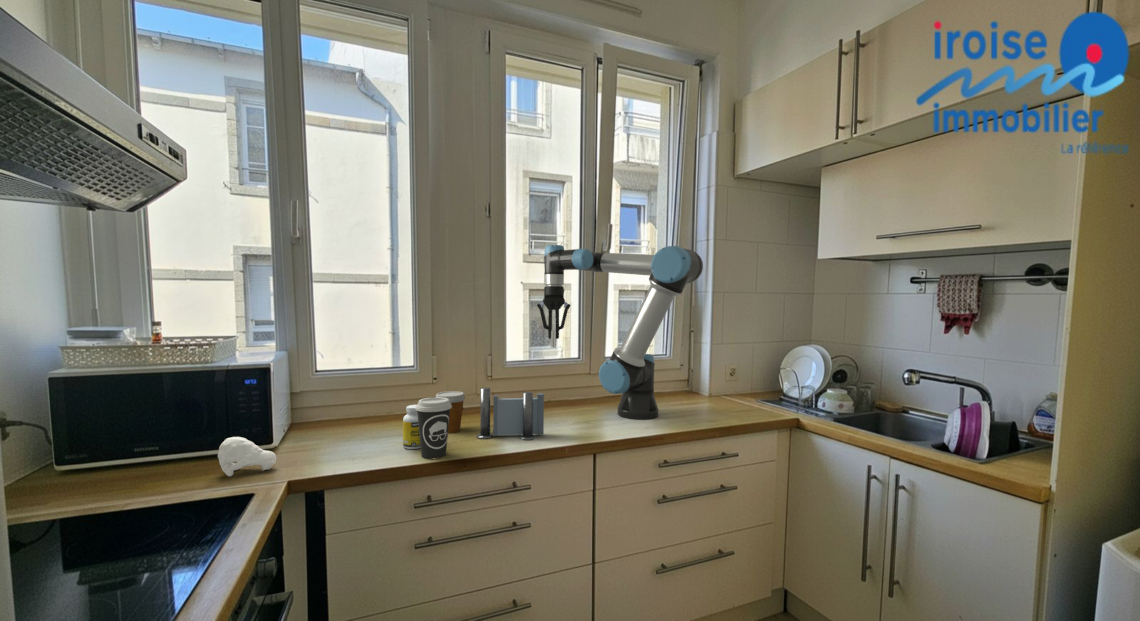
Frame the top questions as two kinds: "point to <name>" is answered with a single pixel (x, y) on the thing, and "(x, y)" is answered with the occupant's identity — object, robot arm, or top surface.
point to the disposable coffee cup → (454, 408)
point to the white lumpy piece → (243, 455)
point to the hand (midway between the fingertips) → (553, 347)
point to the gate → (516, 415)
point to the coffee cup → (433, 426)
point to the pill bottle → (411, 429)
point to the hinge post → (485, 415)
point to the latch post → (527, 416)
